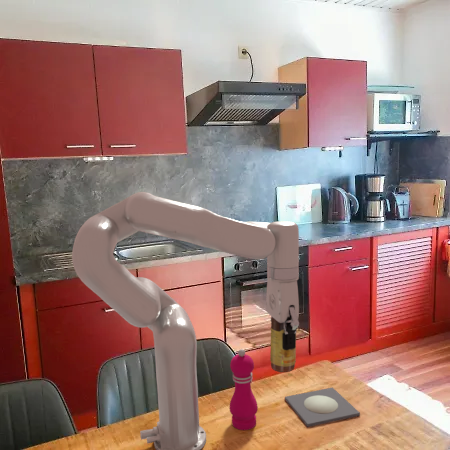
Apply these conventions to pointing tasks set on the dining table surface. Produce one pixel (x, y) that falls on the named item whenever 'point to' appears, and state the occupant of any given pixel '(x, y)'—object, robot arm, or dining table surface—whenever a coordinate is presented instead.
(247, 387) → the pepper mill
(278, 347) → the sauce bottle
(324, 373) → the dining table surface
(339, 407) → the bottle mat
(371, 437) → the dining table surface
